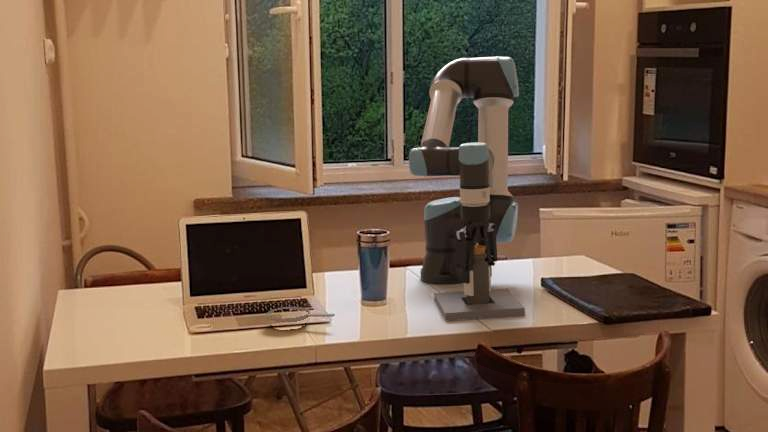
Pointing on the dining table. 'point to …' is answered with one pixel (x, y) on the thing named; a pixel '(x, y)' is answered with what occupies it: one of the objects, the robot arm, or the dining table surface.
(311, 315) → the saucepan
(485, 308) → the hole plate
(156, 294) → the dining table surface
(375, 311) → the dining table surface
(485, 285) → the bottle
